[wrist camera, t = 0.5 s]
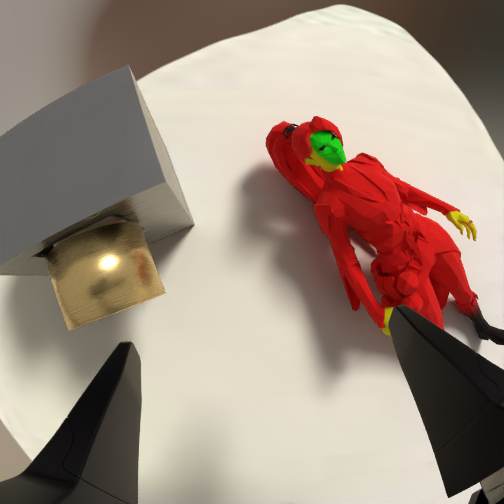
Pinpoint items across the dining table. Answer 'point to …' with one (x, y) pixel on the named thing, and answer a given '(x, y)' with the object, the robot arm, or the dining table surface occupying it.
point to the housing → (85, 172)
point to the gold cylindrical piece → (102, 271)
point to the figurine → (378, 227)
